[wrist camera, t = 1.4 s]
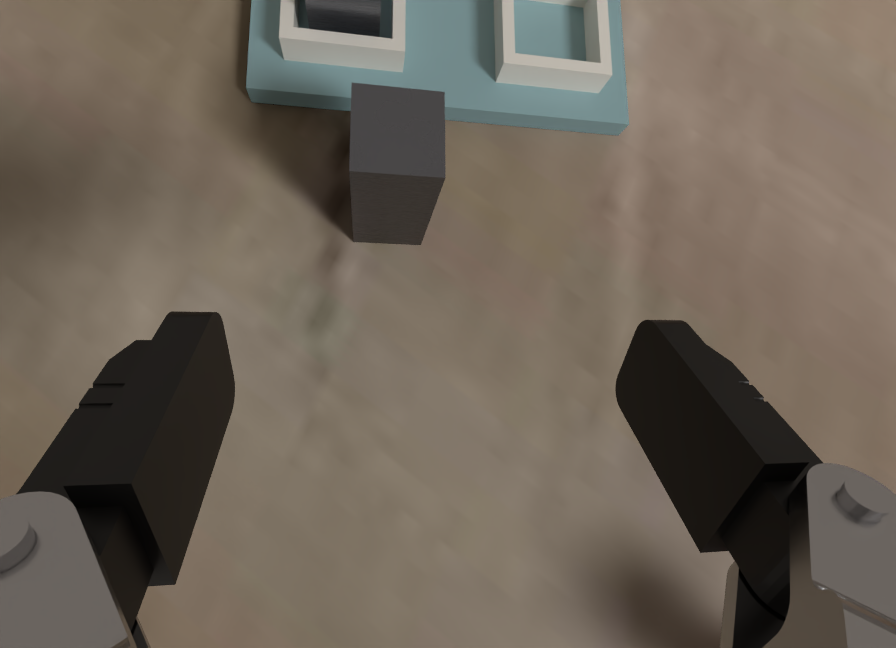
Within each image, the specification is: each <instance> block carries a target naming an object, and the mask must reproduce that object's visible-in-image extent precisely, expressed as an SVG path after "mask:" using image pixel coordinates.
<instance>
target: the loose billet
mask: <svg viewBox="0 0 896 648" xmlns="http://www.w3.org/2000/svg"><path fill="white" fill-rule="evenodd" d="M349 176H350V192H351V209H352V226H353V242H367V243H388V244H410V245H421V243H422V240H423V237H424V235H425V232H426V229H427V226H428V224H429V221H430V218H431V216H432V213H433V210H434V207H435V205H436V202H437V199H438V196H439V194H440V191H441V188H442V186H443V183H444V180H445V92H441V91H431V90H421V89H411V88H401V87H391V86H382V85H372V84H362V83H352V84H351V122H350V160H349Z"/></svg>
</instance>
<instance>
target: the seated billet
mask: <svg viewBox="0 0 896 648" xmlns="http://www.w3.org/2000/svg"><path fill="white" fill-rule="evenodd" d="M305 4H306V11H307V18H308V25H309V29H314V30H323V31H331V32H340V33H348V34H357V35H365V36H374V37H379V35H380V12H381V0H305Z"/></svg>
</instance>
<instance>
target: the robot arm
mask: <svg viewBox="0 0 896 648" xmlns="http://www.w3.org/2000/svg"><path fill="white" fill-rule="evenodd" d="M234 397H235V382H234V375H233V370H232V365H231V360H230V355H229V350H228V345H227V340H226V335H225V330H224V325H223V321H222V318H221V316H220V314H219V313H217V312H170V313H168V314H167V316H166V317H165V319H164V320H163V322H162V324H161V325H160V327H159V329H158V330H157V332H156V334H155V335H154V337H153V338H152V340H136V341H134V342H133V343H132V344H130V345H129V346H127V347H126V348H125V349H123V350H122V351H121V352H119V353H118V354H116V355H115V356H114V357H112V358H111V359H110V360H109V361H108V362H107V364H106V365H105V366H104V368H103V369H102V371H101V372H100V374H99V375H98V377H97V378H96V380H95V381H94V383H93V388H89V390H88V391H87V393H86V394H85V396H84V397H83V399H82V400H81V401H80V403H79V409H75V410H74V412H73V413H72V415H71V416H70V417H69V419H68V420H67V422H66V423H65V425H64V426H63V428H62V429H61V431H60V432H59V434H58V435H57V436H56V438H55V439H54V441H53V442H52V444H51V445H50V447H49V448H48V450H47V451H46V452H45V454H44V455H43V457H42V458H41V460H40V461H39V463H38V464H37V466H36V467H35V468H34V470H33V471H32V473H31V474H30V476H29V477H28V479H27V480H26V482H25V483H24V485H23V486H22V487H21V489H20V490H19V491H18V493H17V494H16V495H13V496H9V497H6V498H3V499H0V648H151V647H150V645H149V642H148V640H147V638H146V635H145V633H144V631H143V628H142V626H141V624H140V621H139V619H138V617H137V614H138V611H139V609H140V606H141V603H142V600H143V598H144V595H145V592H146V590H147V587H148V586H160V585H175V584H176V581H177V578H178V575H179V572H180V569H181V566H182V563H183V560H184V557H185V553H186V550H187V547H188V544H189V541H190V538H191V535H192V532H193V529H194V526H195V523H196V520H197V517H198V514H199V511H200V508H201V505H202V502H203V498H204V495H205V492H206V489H207V486H208V483H209V480H210V477H211V474H212V471H213V468H214V465H215V462H216V459H217V456H218V453H219V450H220V447H221V444H222V440H223V437H224V434H225V431H226V428H227V425H228V422H229V419H230V416H231V413H232V409H233V405H234ZM616 398H617V402H618V405H619V407H620V409H621V411H622V413H623V414H624V416H625V418H626V420H627V422H628V423H629V425H630V427H631V429H632V431H633V432H634V434H635V436H636V438H637V440H638V441H639V443H640V445H641V447H642V449H643V450H644V452H645V454H646V456H647V458H648V459H649V461H650V463H651V465H652V467H653V468H654V470H655V472H656V474H657V476H658V477H659V479H660V481H661V483H662V485H663V486H664V488H665V490H666V492H667V494H668V495H669V497H670V499H671V501H672V503H673V504H674V506H675V508H676V510H677V512H678V513H679V515H680V517H681V519H682V521H683V522H684V524H685V526H686V528H687V529H688V531H689V533H690V535H691V537H692V538H693V540H694V542H695V544H696V546H697V547H698V549H699V551H700V553H704V552H719V551H729V552H730V554H731V555H732V557H733V559H734V560H735V561H734V562H733V564H732V565H731V566H730V568H729V570H728V573H727V579H726V589H725V599H724V608H723V618H722V628H721V638H720V647H719V648H896V495H895V494H894V493H893V492H892V491H891V490H889V489H888V488H887V487H886V486H884V485H883V484H881V483H880V482H878V481H877V480H875V479H873V478H872V477H870V476H868V475H866V474H864V473H862V472H860V471H857V470H855V469H852V468H849V467H847V466H843V465H839V464H832V463H823V462H822V461H821V460H820V459H819V458H818V457H817V456H816V454H815V453H814V452H813V451H812V450H811V449H810V448H809V447H808V446H807V445H806V443H805V442H804V441H803V440H802V439H801V438H800V437H799V436H798V435H797V434H796V432H795V431H794V430H793V429H792V428H791V427H790V426H789V425H788V424H787V423H786V421H785V420H784V419H783V418H782V417H781V416H780V415H779V414H778V413H777V411H776V410H775V409H774V408H773V407H772V406H771V405H770V404H769V403H768V402H764V400H763V398H764V397H763V396H762V395H761V394H760V393H759V392H758V391H757V389H756V388H755V387H754V386H753V385H749V381H748V379H747V378H746V377H745V376H744V375H743V374H742V373H741V372H740V371H739V370H738V368H737V367H736V366H735V365H734V364H733V363H732V362H731V361H730V360H728V359H727V358H725V357H724V356H722V355H721V354H719V353H718V352H716V351H715V350H713V349H712V348H710V347H709V346H708V345H706V344H705V343H704V342H703V341H702V339H701V338H700V337H699V336H698V335H697V334H696V333H695V332H694V330H693V329H692V328H691V327H690V326H689V325H688V324H687V323H686V322H684V321H681V320H644V321H642V322H641V323H640V324H639V325H638V327H637V329H636V331H635V334H634V336H633V339H632V341H631V344H630V346H629V349H628V351H627V354H626V356H625V359H624V361H623V364H622V366H621V369H620V371H619V374H618V377H617V380H616Z"/></svg>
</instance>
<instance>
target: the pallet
mask: <svg viewBox="0 0 896 648" xmlns="http://www.w3.org/2000/svg"><path fill="white" fill-rule="evenodd" d="M352 83H362V84H372V85H382V86H391V87H401V88H411V89H421V90H431V91H441V92H445V120H453V121H464V122H475V123H486V124H497V125H508V126H519V127H530V128H541V129H552V130H563V131H574V132H585V133H596V134H607V135H619V134H620V133H621V132H622V131H623V130H624V129H625V128H626V127H627V126H628V125H629V117H628V103H627V89H626V75H625V61H624V47H623V33H622V19H621V5H620V0H381V12H380V35H379V37H374V36H365V35H357V34H348V33H340V32H331V31H323V30H314V29H309V25H308V18H307V11H306V4H305V0H252V1H251V17H250V32H249V48H248V64H247V79H246V89H247V92H248V95H249V97H250V100H251V102H255V103H266V104H277V105H288V106H299V107H310V108H321V109H332V110H343V111H351V84H352Z"/></svg>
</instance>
